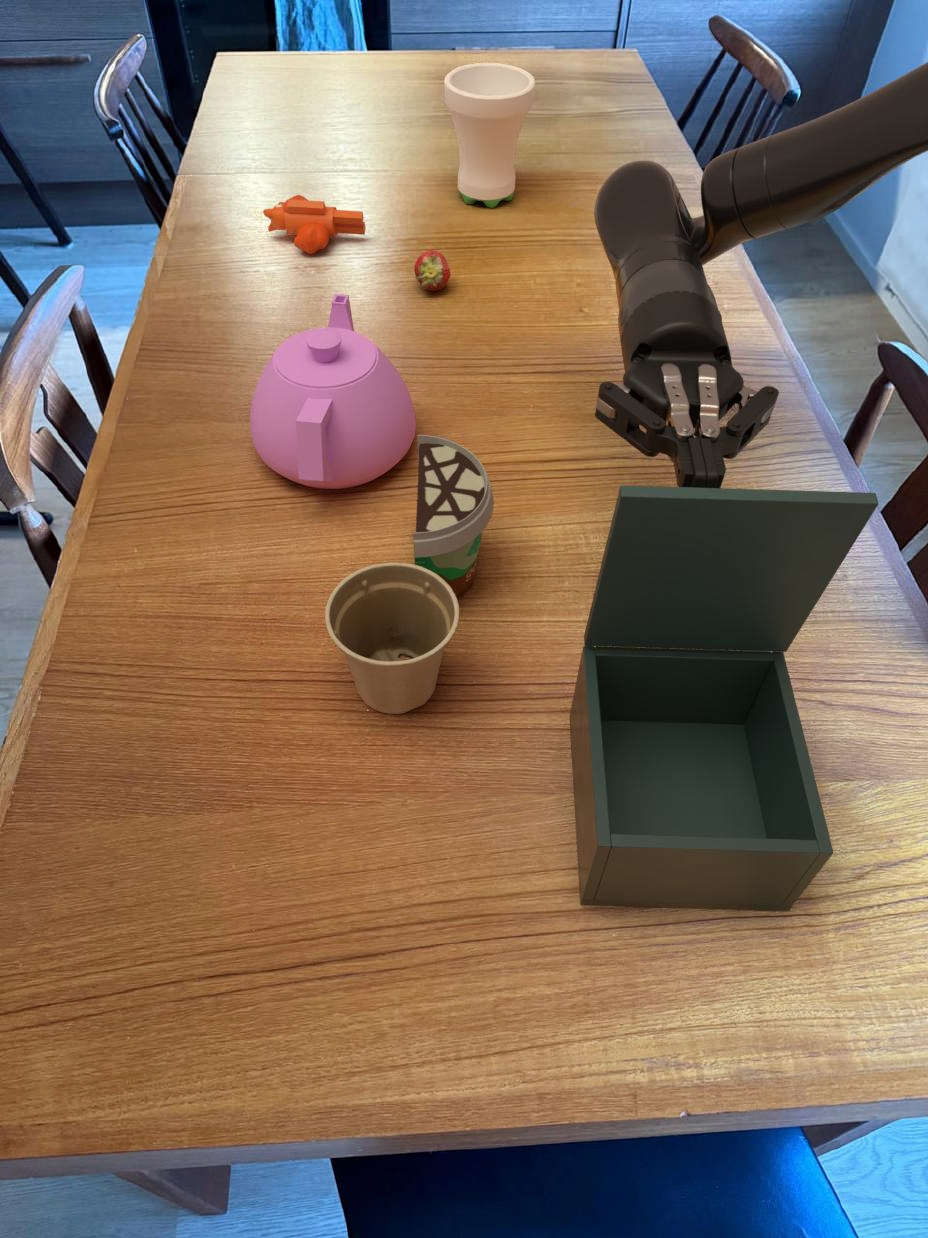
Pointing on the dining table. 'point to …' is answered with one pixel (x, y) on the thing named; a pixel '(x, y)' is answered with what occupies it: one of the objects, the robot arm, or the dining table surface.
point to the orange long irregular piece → (313, 222)
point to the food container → (450, 511)
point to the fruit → (432, 270)
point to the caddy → (692, 781)
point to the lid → (719, 565)
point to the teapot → (331, 407)
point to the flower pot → (393, 632)
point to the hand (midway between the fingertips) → (703, 489)
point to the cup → (488, 126)
